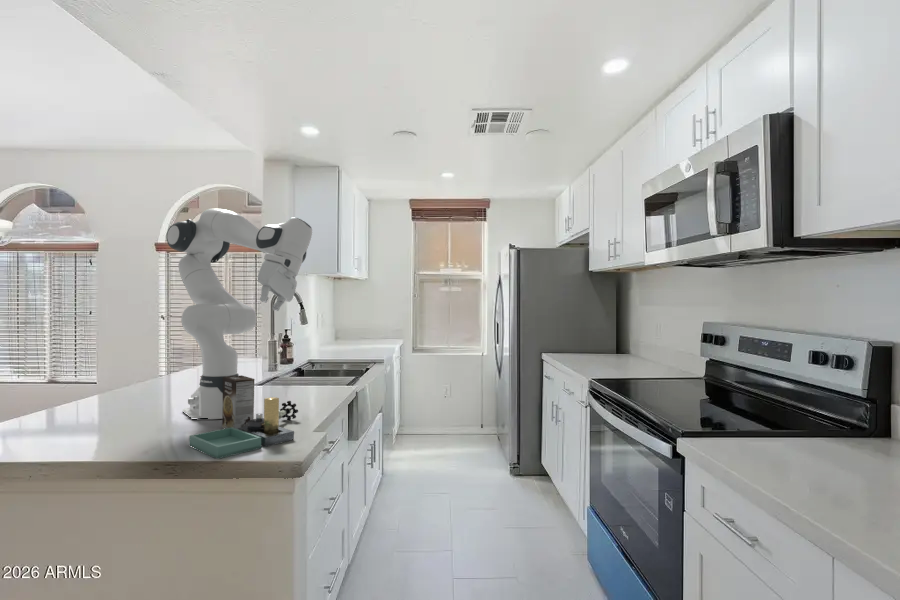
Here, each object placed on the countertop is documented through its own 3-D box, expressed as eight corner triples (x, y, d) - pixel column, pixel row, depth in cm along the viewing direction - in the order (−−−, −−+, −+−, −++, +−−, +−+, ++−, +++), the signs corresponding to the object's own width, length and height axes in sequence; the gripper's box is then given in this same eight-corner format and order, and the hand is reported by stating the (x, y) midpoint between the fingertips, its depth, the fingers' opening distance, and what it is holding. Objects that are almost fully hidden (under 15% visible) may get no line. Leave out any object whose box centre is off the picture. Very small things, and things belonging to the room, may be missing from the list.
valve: (276, 429, 154) (298, 420, 166) (277, 408, 154) (298, 401, 166) (258, 428, 156) (281, 419, 167) (258, 407, 156) (281, 400, 167)
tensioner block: (237, 436, 145) (237, 414, 145) (265, 430, 152) (265, 409, 152) (265, 446, 136) (265, 423, 136) (293, 439, 143) (294, 417, 143)
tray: (189, 446, 135) (189, 435, 135) (231, 437, 144) (232, 427, 144) (217, 458, 125) (217, 447, 125) (261, 448, 134) (261, 437, 134)
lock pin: (260, 440, 142) (261, 398, 142) (273, 437, 145) (274, 396, 145) (268, 443, 139) (269, 400, 139) (281, 440, 142) (281, 398, 142)
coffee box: (221, 428, 155) (221, 376, 155) (241, 424, 160) (242, 374, 160) (233, 433, 149) (234, 380, 149) (254, 429, 153) (255, 377, 153)
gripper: (287, 274, 167) (272, 312, 163) (263, 251, 147) (245, 293, 144) (305, 279, 166) (290, 317, 162) (282, 256, 147) (265, 298, 143)
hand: (269, 306), depth 153 cm, fingers open, 8 cm apart
